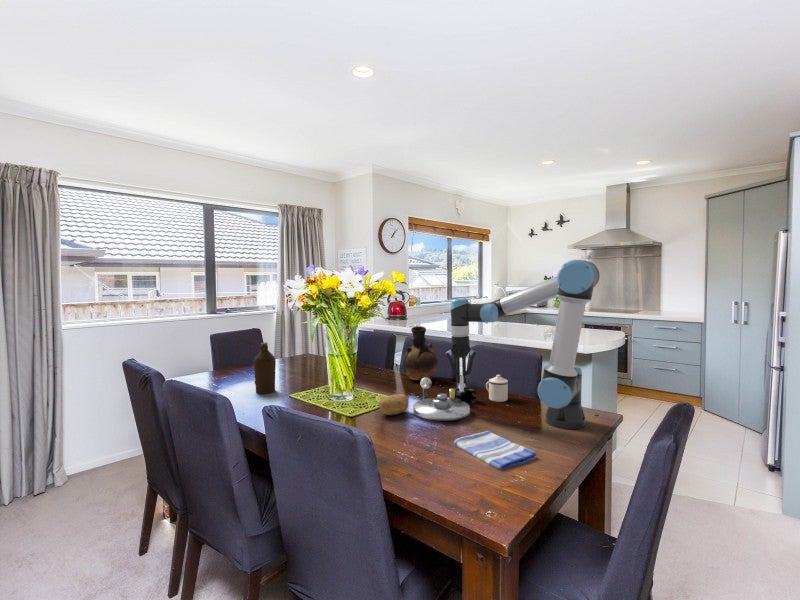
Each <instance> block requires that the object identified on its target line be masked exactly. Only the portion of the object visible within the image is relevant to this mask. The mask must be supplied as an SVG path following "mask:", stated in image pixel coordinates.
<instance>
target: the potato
mask: <svg viewBox="0 0 800 600" xmlns="http://www.w3.org/2000/svg"><path fill="white" fill-rule="evenodd" d="M377 406H378V408H379V410H380V411H381V412H382V413H384V414H385V415H387V416H395V415H398V414H401V413H403V412H405V411H406V410H407V409H408V408H409V407H408V406H409V398H408V397H407V395H405V394H404V393H399V394H390V395H388V396H385V397H383V398H381V399H380V400H379V401H378V405H377Z"/></svg>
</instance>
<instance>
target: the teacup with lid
mask: <svg viewBox="0 0 800 600" xmlns="http://www.w3.org/2000/svg"><path fill="white" fill-rule="evenodd" d="M485 388H486V390H487V392H488V399H489V400H490V401H492V402H498V403H502V402H503V403H504V402H506V401H508V398H509V397H508V396H509V395H508V393H509V392H508V391H509V380H508V379H506V378H504V377H502V375H501V374H496V375H495V376H494V377H492V378H489V379H488V381H487V382H486V383H485Z"/></svg>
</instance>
